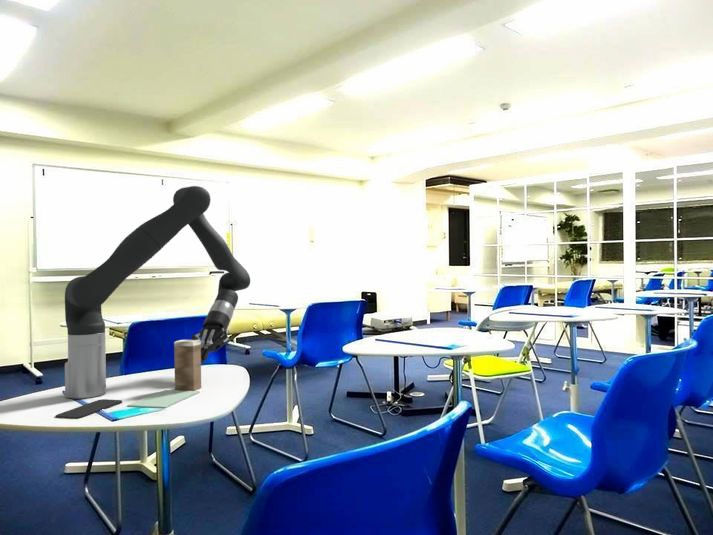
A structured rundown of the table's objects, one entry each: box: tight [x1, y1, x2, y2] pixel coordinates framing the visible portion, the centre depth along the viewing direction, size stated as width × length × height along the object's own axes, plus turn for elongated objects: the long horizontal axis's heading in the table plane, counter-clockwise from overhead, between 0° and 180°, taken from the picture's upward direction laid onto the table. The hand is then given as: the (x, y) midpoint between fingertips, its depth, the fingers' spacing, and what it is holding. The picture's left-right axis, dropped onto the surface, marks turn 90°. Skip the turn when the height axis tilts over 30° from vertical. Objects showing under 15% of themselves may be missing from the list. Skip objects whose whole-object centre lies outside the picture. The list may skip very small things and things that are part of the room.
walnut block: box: [173, 339, 202, 391], centre depth 140 cm, size 6×4×14 cm, turn 78°
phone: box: [54, 398, 123, 420], centre depth 120 cm, size 7×1×15 cm
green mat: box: [126, 389, 201, 409], centre depth 129 cm, size 11×16×1 cm
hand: (200, 361), depth 146 cm, fingers closed
